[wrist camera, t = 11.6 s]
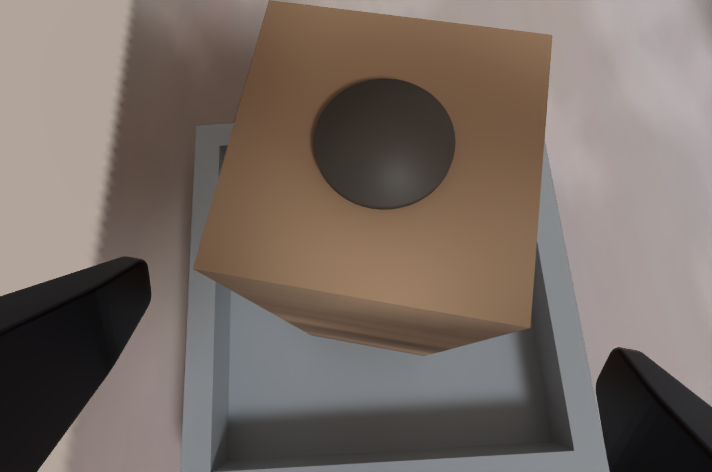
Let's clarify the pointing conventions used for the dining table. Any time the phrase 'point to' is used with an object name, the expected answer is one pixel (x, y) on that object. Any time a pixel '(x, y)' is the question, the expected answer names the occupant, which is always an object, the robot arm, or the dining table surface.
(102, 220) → the dining table surface
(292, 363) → the grey tray
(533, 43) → the walnut block
